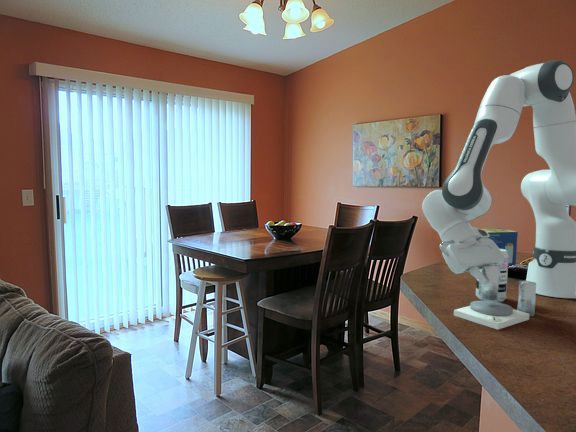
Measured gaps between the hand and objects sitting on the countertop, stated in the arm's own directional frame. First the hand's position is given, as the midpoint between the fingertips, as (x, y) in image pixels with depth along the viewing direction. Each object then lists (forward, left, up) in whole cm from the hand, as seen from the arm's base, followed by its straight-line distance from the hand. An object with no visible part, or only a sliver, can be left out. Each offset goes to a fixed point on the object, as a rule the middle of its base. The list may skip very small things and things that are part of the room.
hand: (492, 281), depth 109 cm
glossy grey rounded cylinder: (0, -1, -4) cm, 4 cm away
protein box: (-56, -35, -9) cm, 67 cm away
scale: (+2, +1, -9) cm, 9 cm away
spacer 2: (-9, +4, -9) cm, 13 cm away
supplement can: (-14, -9, -9) cm, 19 cm away
